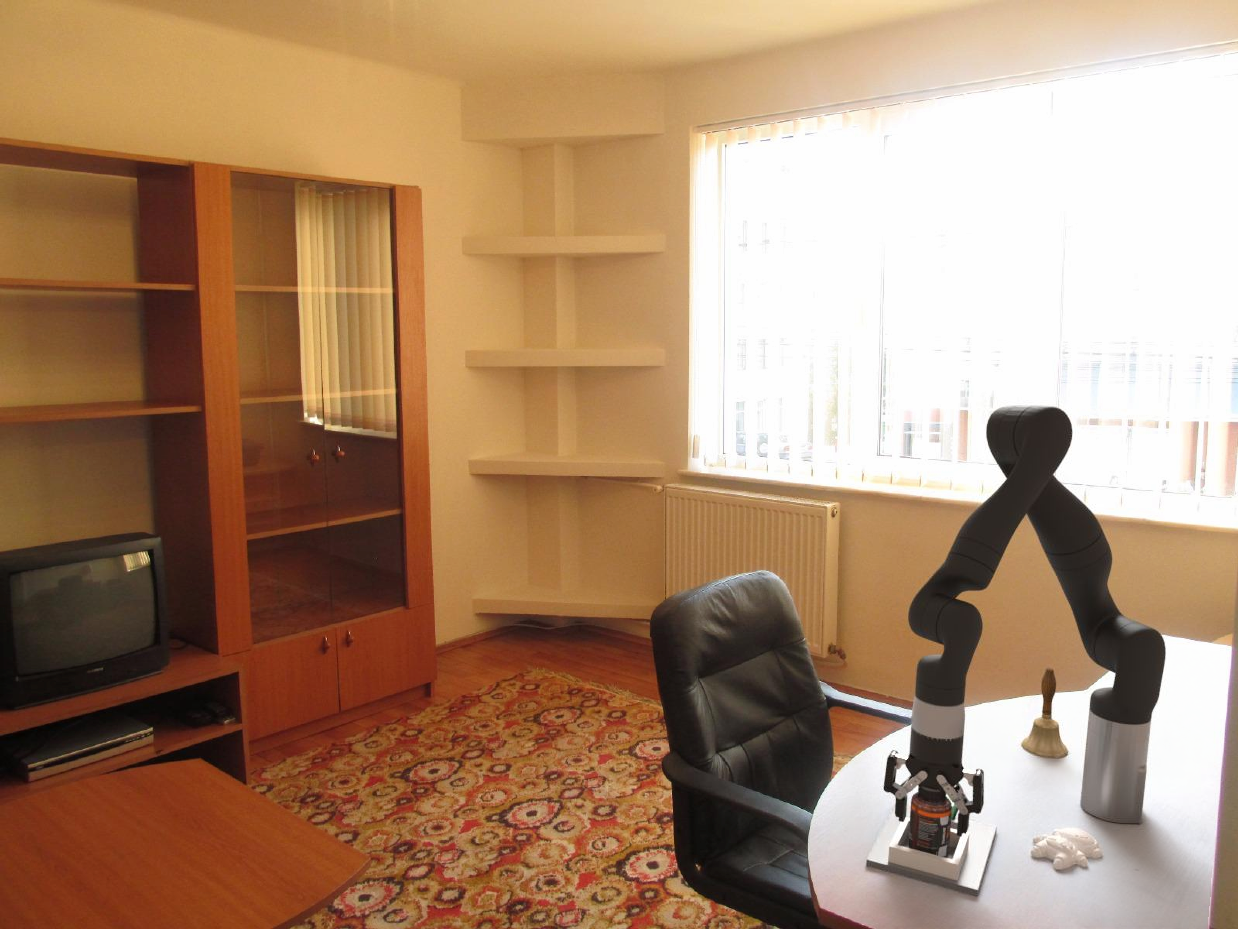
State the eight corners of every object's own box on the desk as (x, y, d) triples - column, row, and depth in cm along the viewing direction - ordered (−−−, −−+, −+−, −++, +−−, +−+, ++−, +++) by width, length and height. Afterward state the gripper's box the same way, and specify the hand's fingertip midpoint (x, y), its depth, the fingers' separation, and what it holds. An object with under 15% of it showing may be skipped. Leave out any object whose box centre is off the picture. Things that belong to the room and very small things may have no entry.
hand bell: (1021, 753, 186) (1027, 673, 184) (1021, 736, 194) (1027, 659, 191) (1068, 761, 183) (1076, 680, 181) (1067, 743, 191) (1074, 665, 188)
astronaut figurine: (1015, 849, 154) (1017, 831, 153) (1067, 831, 159) (1068, 813, 159) (1063, 878, 146) (1065, 859, 146) (1116, 858, 152) (1117, 839, 151)
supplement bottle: (954, 865, 147) (959, 794, 145) (914, 865, 147) (918, 794, 145) (941, 843, 153) (945, 775, 151) (903, 843, 153) (907, 775, 151)
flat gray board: (996, 832, 158) (997, 811, 158) (977, 896, 141) (979, 874, 140) (895, 807, 166) (897, 787, 165) (866, 865, 148) (867, 844, 148)
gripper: (991, 726, 146) (983, 827, 149) (894, 707, 153) (889, 804, 155) (984, 746, 140) (976, 851, 142) (883, 725, 146) (877, 826, 149)
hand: (930, 826), depth 149 cm, fingers open, 8 cm apart
